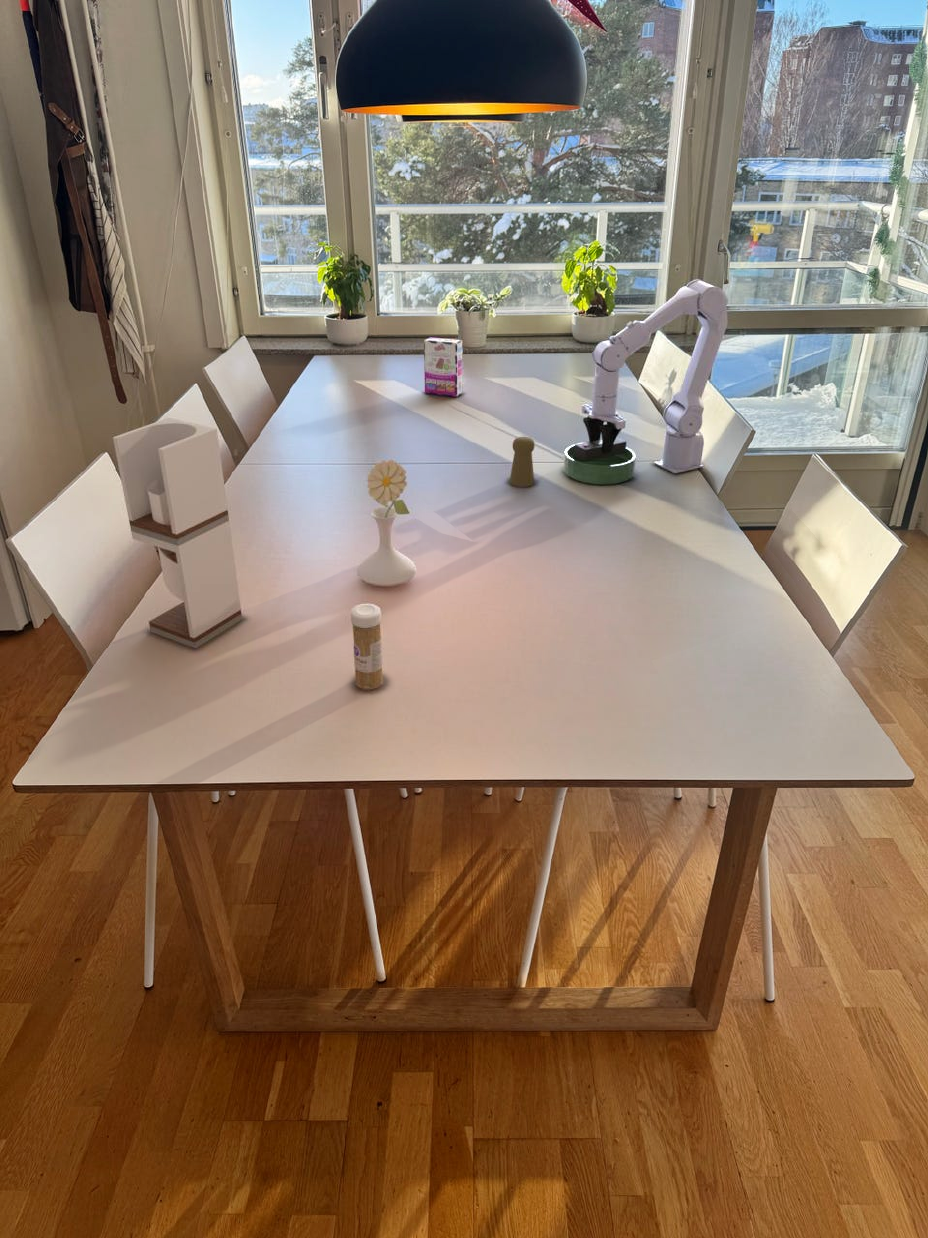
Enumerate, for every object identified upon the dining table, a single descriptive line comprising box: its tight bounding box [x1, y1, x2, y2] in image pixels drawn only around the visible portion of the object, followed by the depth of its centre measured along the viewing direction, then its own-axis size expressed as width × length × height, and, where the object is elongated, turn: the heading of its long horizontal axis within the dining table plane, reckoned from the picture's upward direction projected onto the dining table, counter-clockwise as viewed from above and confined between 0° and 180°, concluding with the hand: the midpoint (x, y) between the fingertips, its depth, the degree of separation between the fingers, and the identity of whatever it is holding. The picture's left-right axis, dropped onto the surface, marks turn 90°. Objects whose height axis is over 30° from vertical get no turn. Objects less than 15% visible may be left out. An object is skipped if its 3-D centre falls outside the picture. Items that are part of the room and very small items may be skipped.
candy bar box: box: [423, 336, 464, 398], centre depth 277 cm, size 11×5×16 cm, turn 67°
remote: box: [574, 436, 627, 462], centre depth 220 cm, size 12×4×3 cm, turn 120°
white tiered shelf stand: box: [112, 417, 243, 649], centre depth 149 cm, size 11×11×35 cm
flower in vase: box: [356, 459, 417, 588], centre depth 167 cm, size 13×11×25 cm
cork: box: [509, 436, 535, 488], centre depth 215 cm, size 6×6×11 cm
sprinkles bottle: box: [350, 603, 384, 691], centre depth 140 cm, size 5×5×13 cm
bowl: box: [563, 442, 637, 486], centre depth 222 cm, size 17×17×5 cm
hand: (600, 449), depth 220 cm, fingers closed on remote, 4 cm apart
